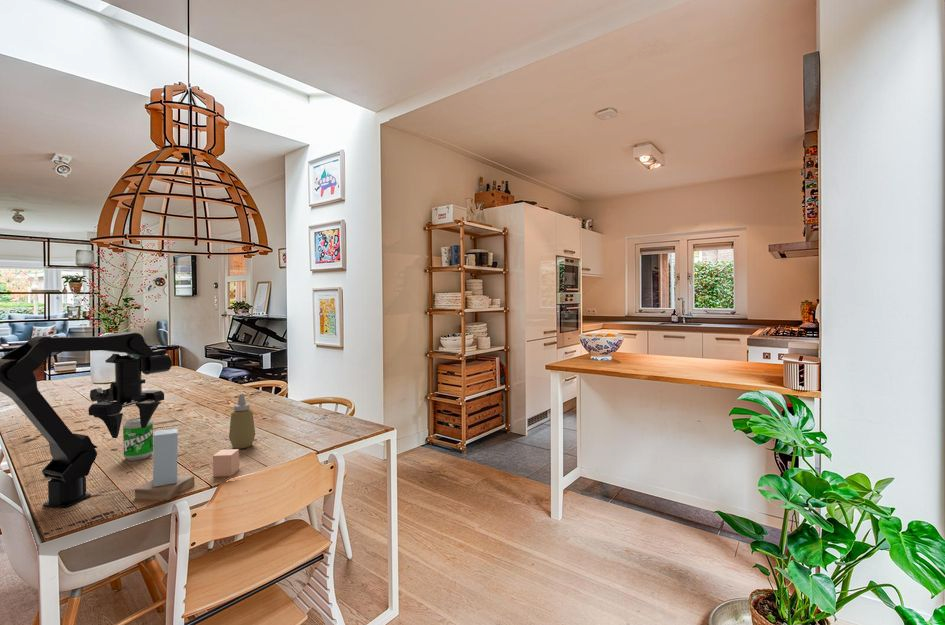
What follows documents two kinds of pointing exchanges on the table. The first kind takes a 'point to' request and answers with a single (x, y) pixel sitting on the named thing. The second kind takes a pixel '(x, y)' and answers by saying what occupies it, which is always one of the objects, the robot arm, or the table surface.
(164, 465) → the blue pillar
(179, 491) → the walnut slab
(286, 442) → the table surface
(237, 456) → the terracotta block
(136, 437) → the soda can
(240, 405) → the squeeze bottle
